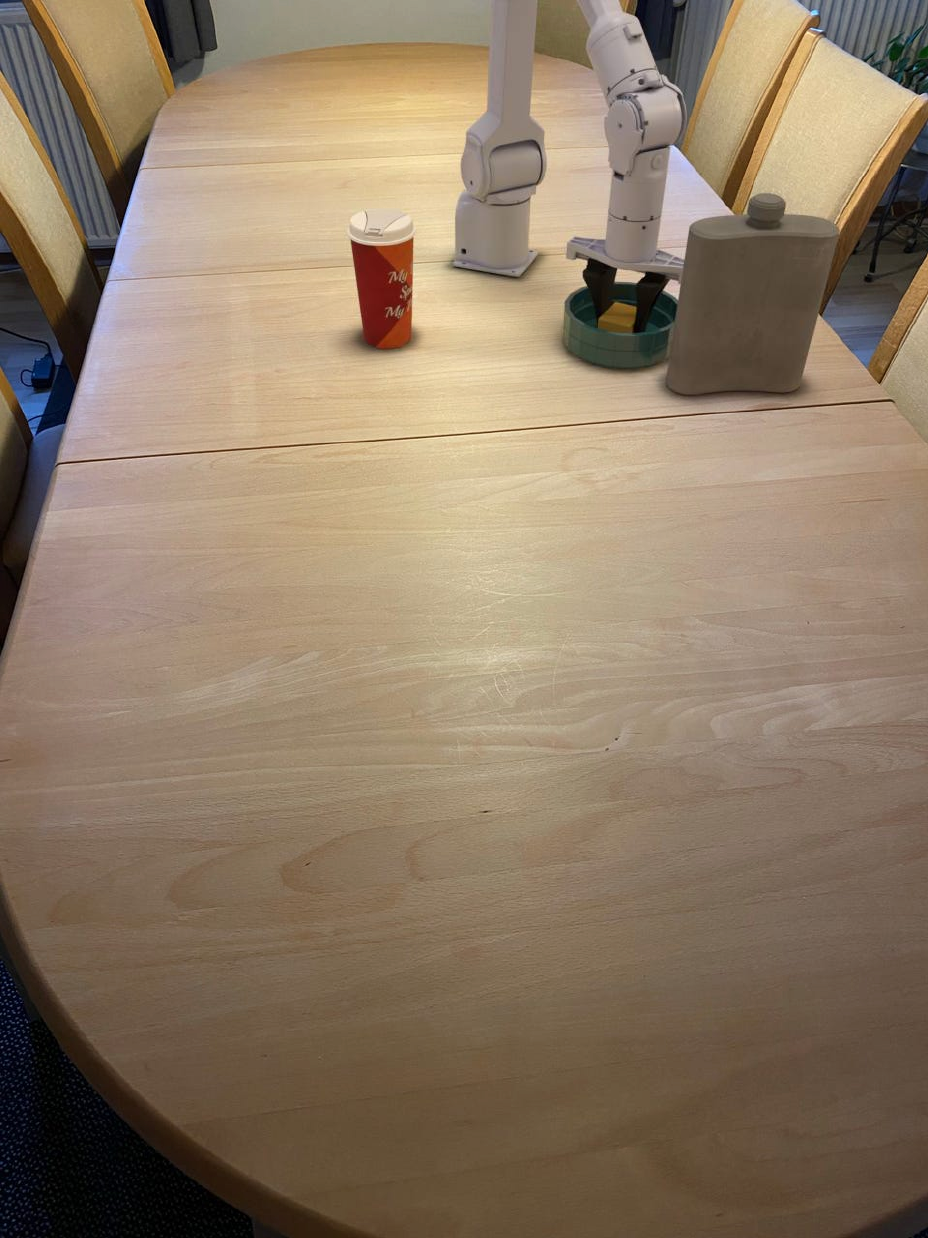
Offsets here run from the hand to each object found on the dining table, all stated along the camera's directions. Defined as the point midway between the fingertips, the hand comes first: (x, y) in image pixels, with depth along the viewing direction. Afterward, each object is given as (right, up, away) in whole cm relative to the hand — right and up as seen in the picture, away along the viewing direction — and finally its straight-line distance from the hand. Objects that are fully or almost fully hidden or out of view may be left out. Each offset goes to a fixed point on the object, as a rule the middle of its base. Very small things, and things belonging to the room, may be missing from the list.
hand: (621, 329), depth 116 cm
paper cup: (-28, 0, +3) cm, 28 cm away
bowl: (0, -1, +1) cm, 2 cm away
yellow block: (0, -1, +1) cm, 1 cm away
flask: (+11, -8, -5) cm, 15 cm away
